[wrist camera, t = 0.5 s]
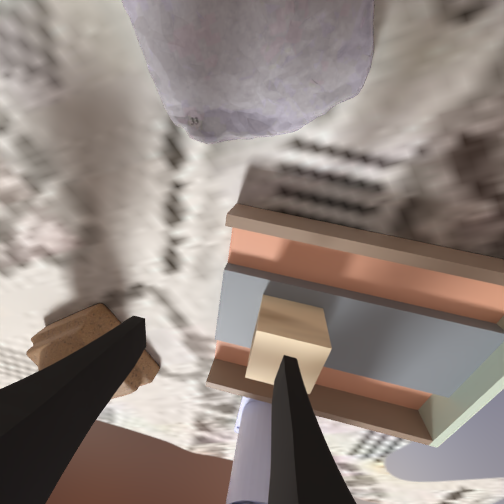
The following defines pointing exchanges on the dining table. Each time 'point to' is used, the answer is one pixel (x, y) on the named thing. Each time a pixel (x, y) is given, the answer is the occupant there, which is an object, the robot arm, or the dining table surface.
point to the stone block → (253, 61)
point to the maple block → (288, 340)
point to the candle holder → (79, 335)
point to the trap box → (369, 321)
